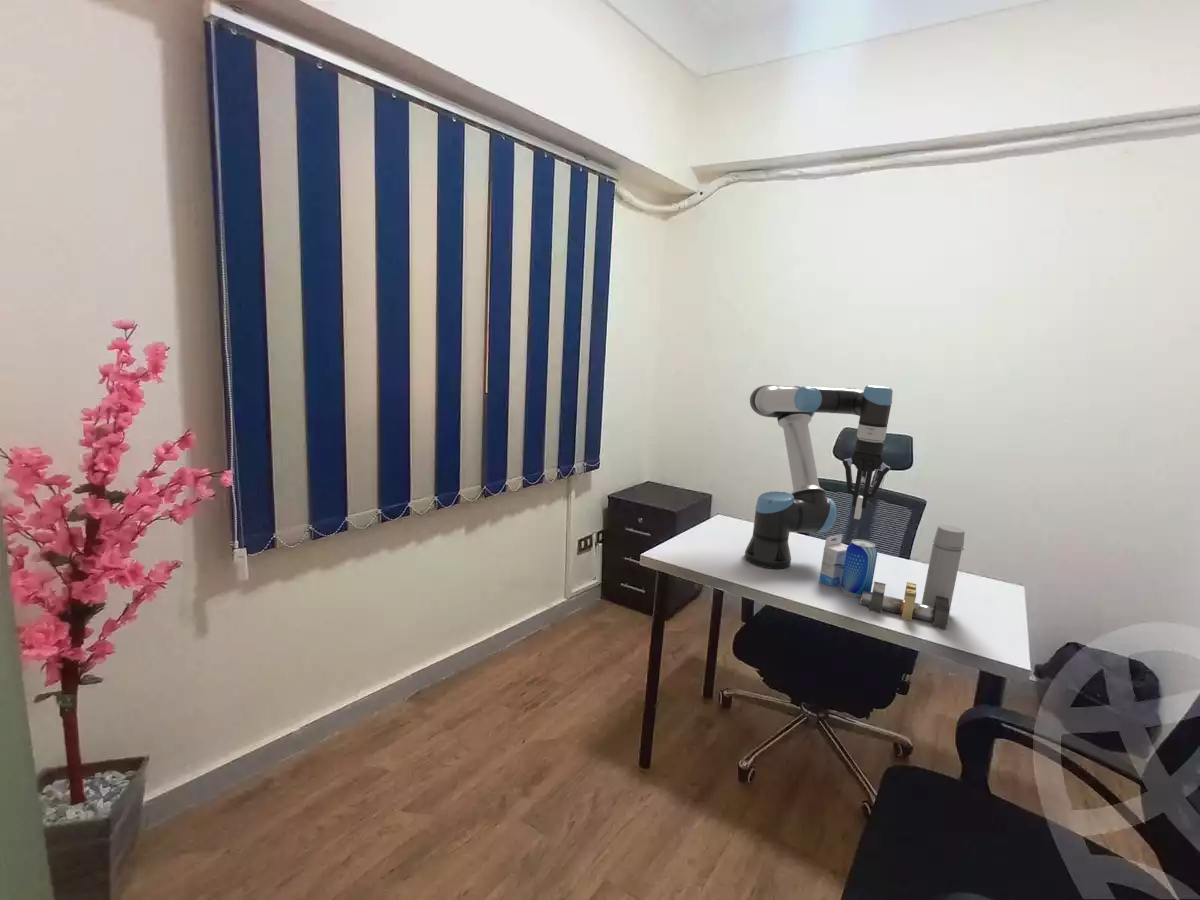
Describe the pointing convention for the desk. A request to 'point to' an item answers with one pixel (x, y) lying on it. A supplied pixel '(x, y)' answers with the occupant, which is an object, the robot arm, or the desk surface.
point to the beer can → (859, 567)
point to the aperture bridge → (909, 601)
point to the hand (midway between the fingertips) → (857, 517)
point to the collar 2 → (941, 612)
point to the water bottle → (943, 564)
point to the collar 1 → (877, 597)
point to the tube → (898, 604)
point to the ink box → (833, 561)
